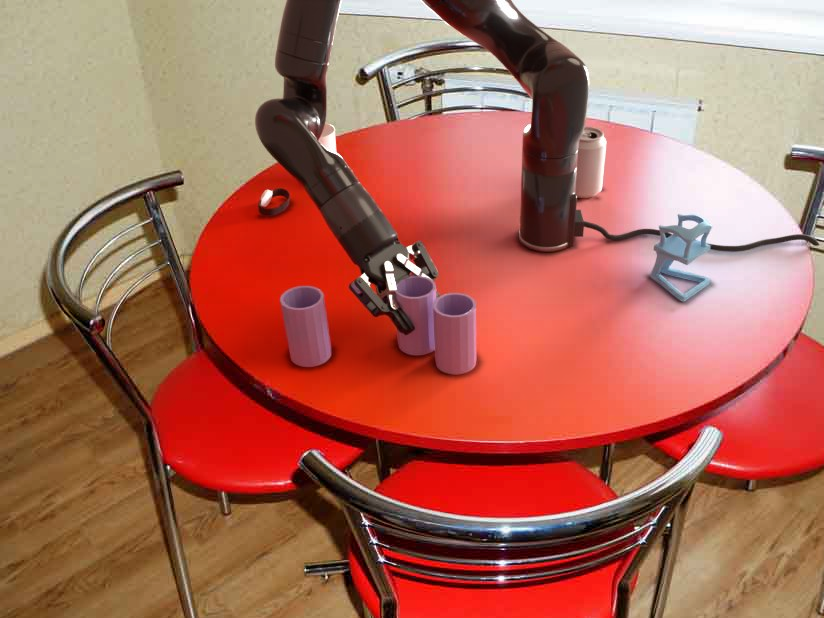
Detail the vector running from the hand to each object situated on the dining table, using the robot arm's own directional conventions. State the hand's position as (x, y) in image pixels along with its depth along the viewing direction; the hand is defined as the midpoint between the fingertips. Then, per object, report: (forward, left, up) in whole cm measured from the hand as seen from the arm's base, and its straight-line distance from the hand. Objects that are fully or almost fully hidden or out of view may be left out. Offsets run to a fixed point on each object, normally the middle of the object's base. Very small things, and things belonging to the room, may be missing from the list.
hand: (425, 321), depth 123 cm
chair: (-41, -16, -5) cm, 44 cm away
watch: (+28, -44, -5) cm, 52 cm away
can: (-30, -49, -5) cm, 57 cm away
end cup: (+17, +1, -5) cm, 18 cm away
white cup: (+21, -56, -5) cm, 60 cm away
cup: (-4, +4, -5) cm, 7 cm away
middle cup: (+1, -1, -5) cm, 5 cm away
